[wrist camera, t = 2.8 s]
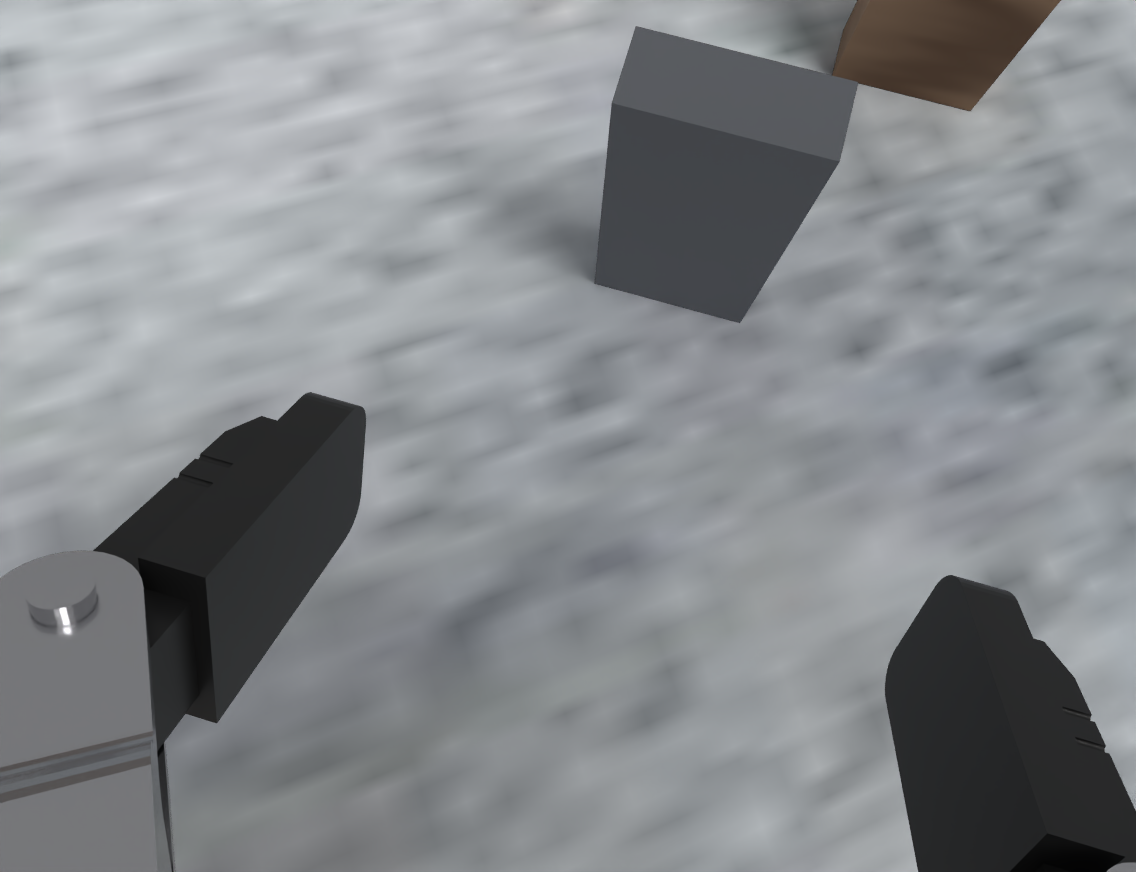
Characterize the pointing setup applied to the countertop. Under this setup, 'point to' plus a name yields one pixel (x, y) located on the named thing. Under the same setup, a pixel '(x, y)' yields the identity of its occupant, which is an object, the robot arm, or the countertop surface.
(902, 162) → the countertop surface
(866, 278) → the countertop surface
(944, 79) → the domino
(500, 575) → the countertop surface
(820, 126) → the domino
